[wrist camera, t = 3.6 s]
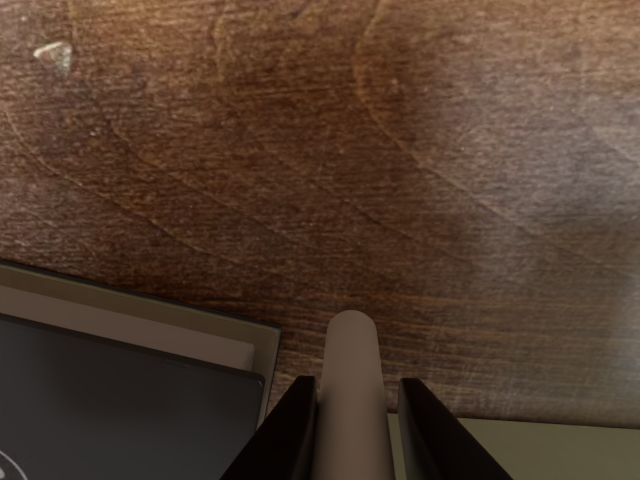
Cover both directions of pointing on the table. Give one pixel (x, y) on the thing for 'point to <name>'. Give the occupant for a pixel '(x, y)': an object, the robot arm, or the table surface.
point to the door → (495, 436)
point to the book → (124, 381)
